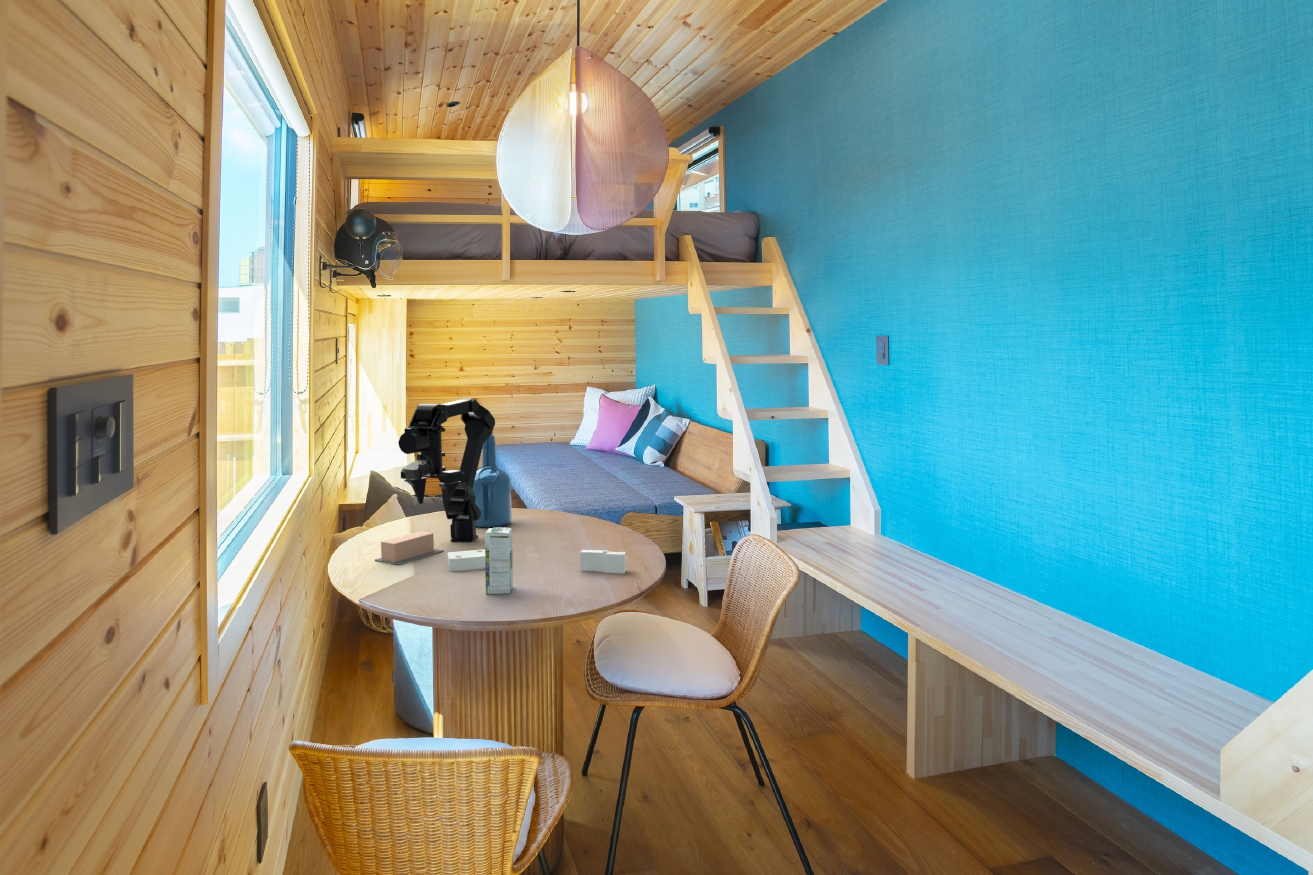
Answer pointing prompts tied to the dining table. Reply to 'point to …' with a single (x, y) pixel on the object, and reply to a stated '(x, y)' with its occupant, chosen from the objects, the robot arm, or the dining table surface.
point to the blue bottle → (492, 490)
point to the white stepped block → (603, 561)
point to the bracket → (466, 560)
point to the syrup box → (498, 560)
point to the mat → (411, 558)
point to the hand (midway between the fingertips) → (433, 505)
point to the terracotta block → (407, 546)
